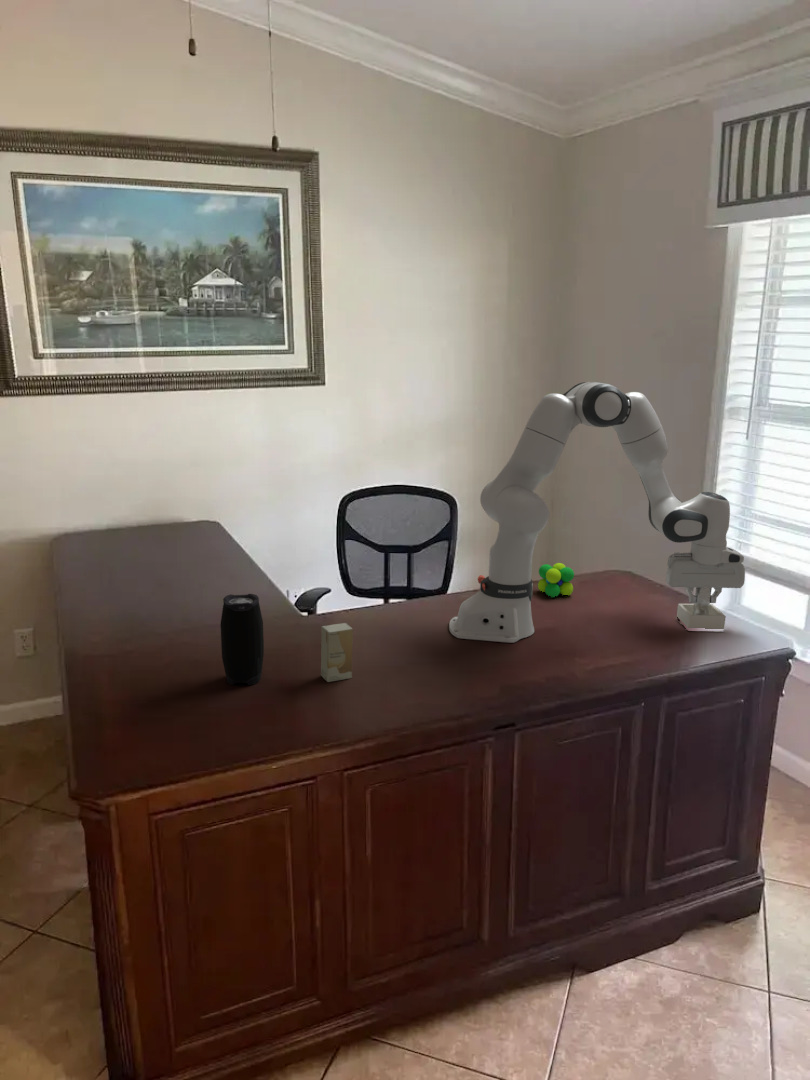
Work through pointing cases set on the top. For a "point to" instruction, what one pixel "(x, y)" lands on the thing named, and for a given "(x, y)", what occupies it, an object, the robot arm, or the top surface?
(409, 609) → the top surface
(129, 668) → the top surface
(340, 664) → the skincare box
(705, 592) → the cylinder
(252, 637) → the portable speaker
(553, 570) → the molecule model
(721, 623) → the cream square tray
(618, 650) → the top surface
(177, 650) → the top surface
